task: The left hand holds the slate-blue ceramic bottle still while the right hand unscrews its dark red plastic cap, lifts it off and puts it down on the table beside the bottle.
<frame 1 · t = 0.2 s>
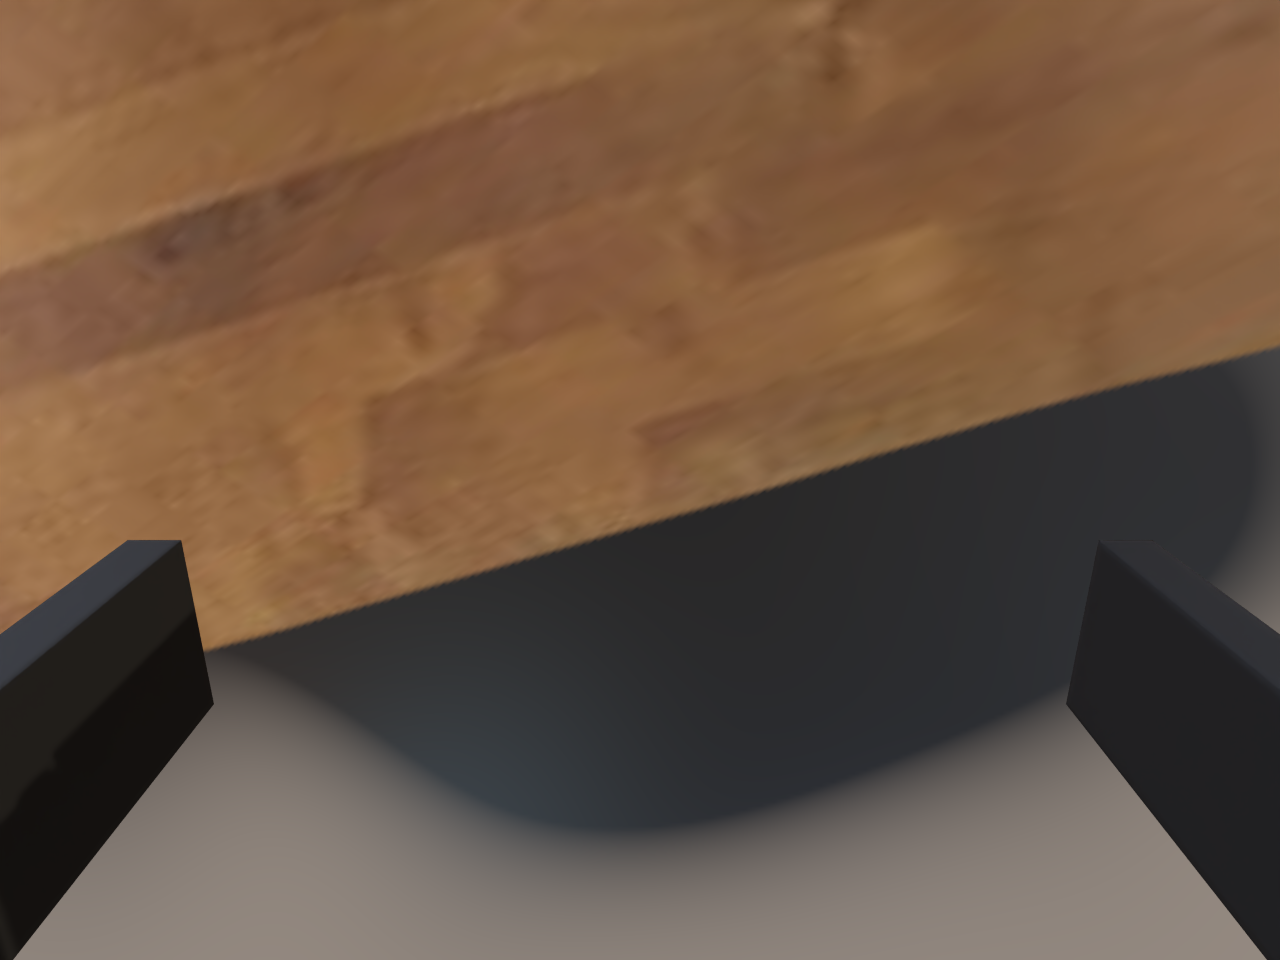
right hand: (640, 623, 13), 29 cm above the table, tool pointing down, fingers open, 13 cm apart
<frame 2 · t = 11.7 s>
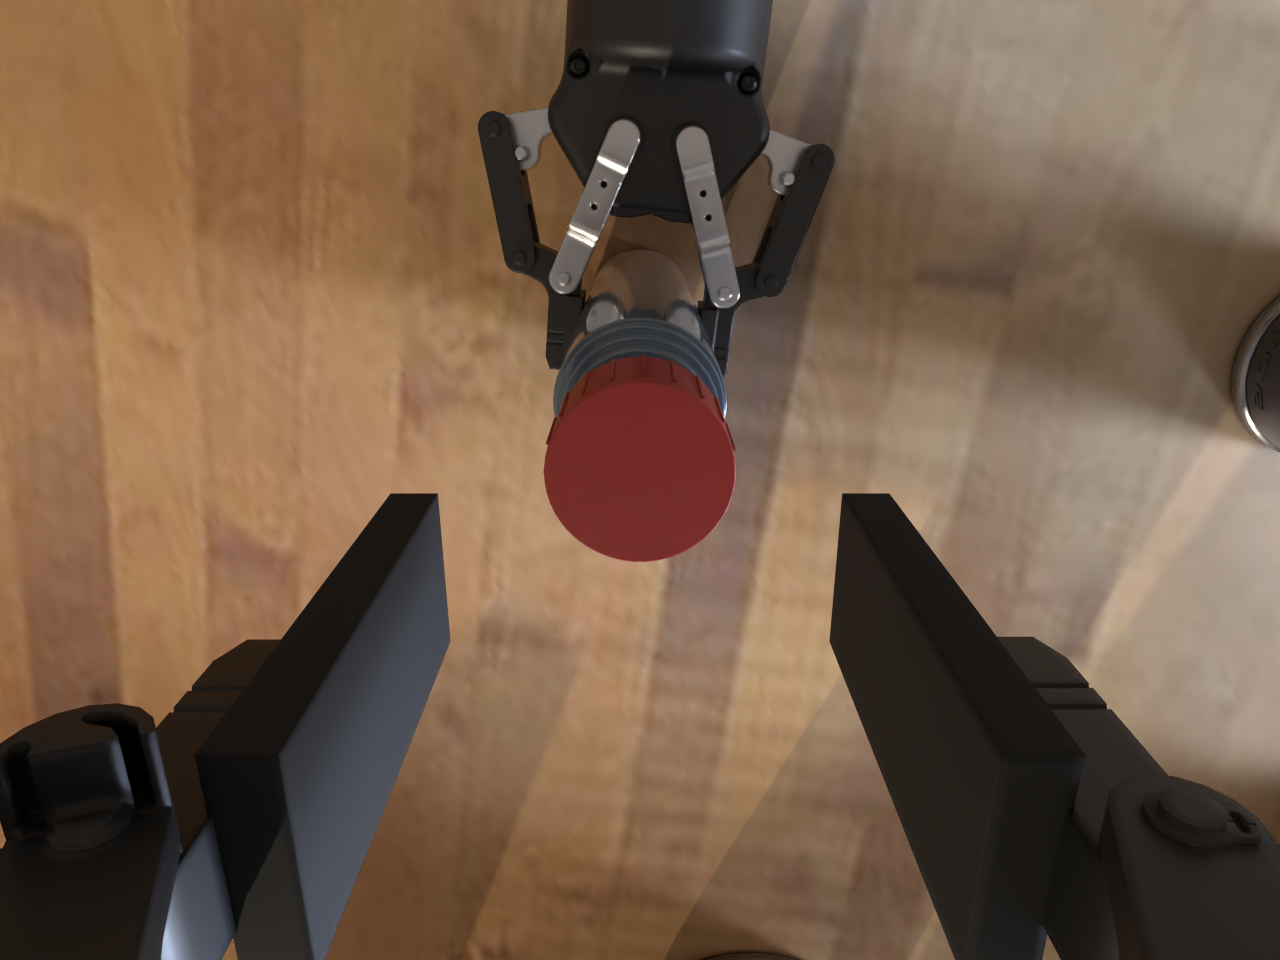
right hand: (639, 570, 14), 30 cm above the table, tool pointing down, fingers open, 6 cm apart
left hand: (635, 384, 37), fingers closed on bottle, 5 cm apart
cap: (640, 470, 19), point 25 cm above the table, screwed on, not yet turned
bottle: (640, 299, 42), on the table, touching left hand
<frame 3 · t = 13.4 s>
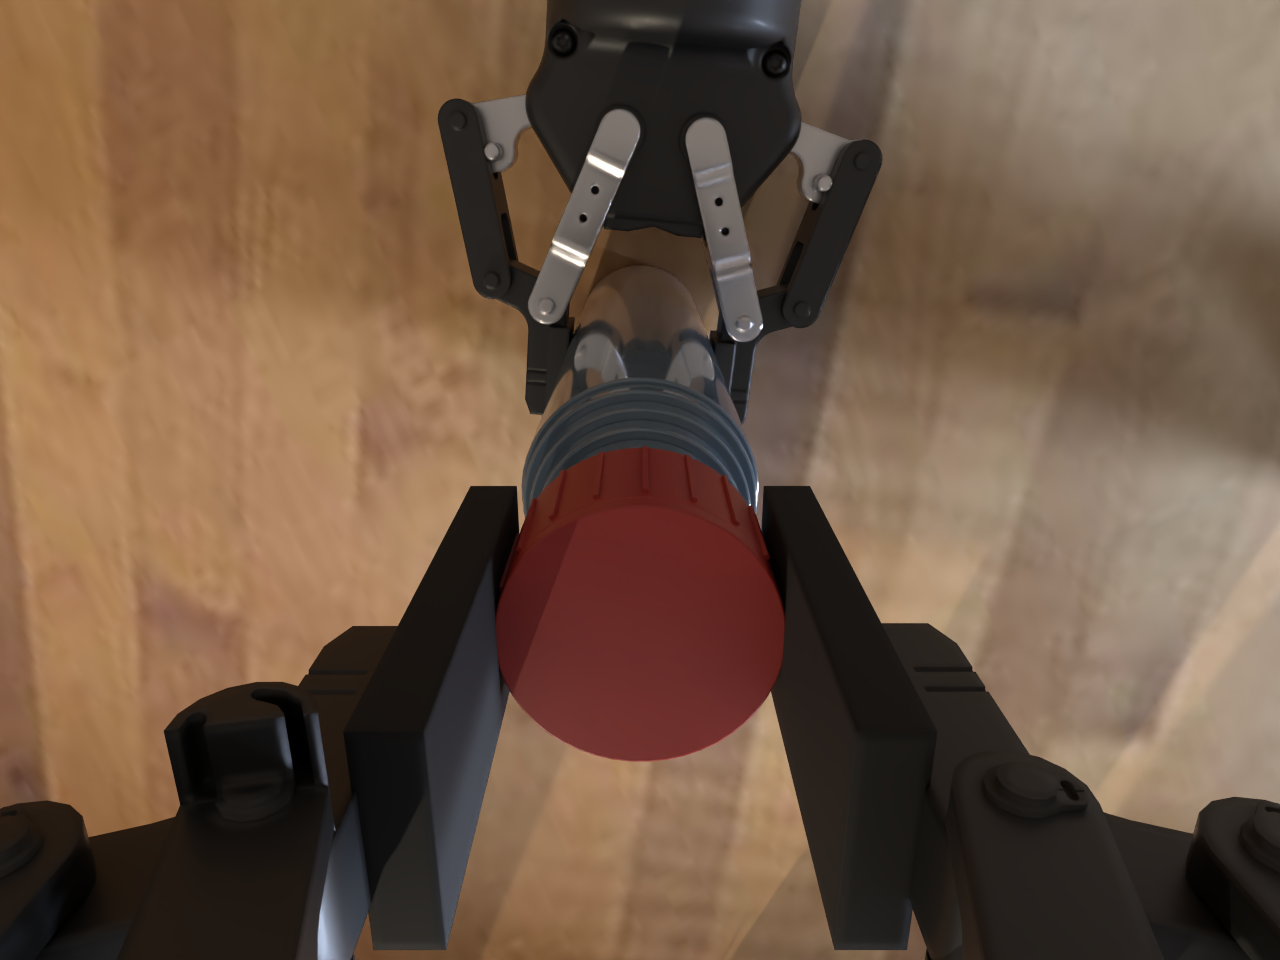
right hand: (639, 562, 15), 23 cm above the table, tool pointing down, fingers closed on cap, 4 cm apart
cap: (640, 630, 12), point 25 cm above the table, screwed on, not yet turned, touching right hand
bottle: (640, 324, 36), on the table, touching left hand
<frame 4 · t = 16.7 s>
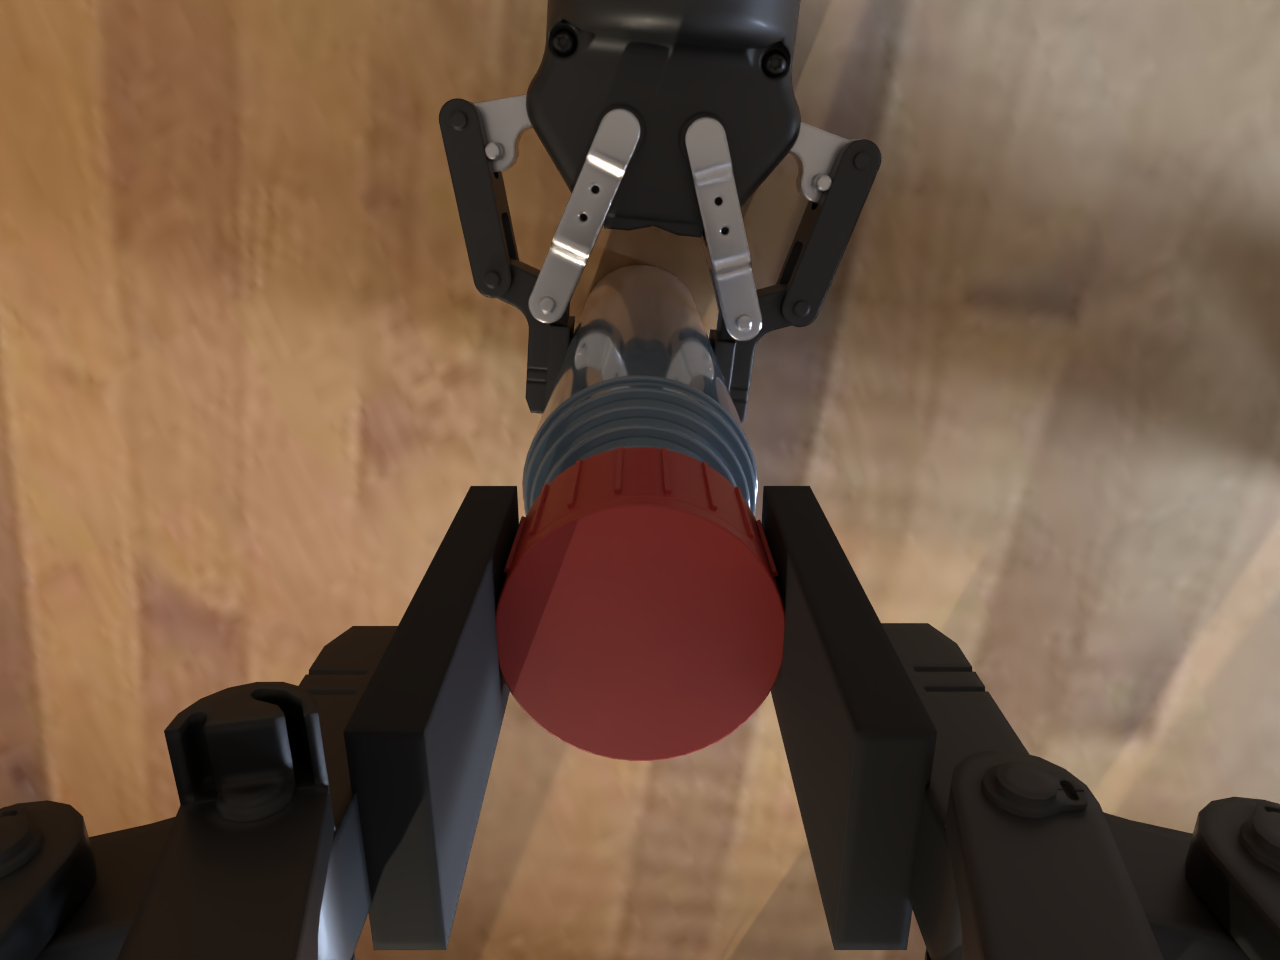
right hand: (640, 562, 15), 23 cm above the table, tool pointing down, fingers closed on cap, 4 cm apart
cap: (640, 629, 12), point 25 cm above the table, turned 105° so far, risen 0.1 cm, still on its thread, touching right hand
bottle: (640, 324, 36), on the table, touching left hand
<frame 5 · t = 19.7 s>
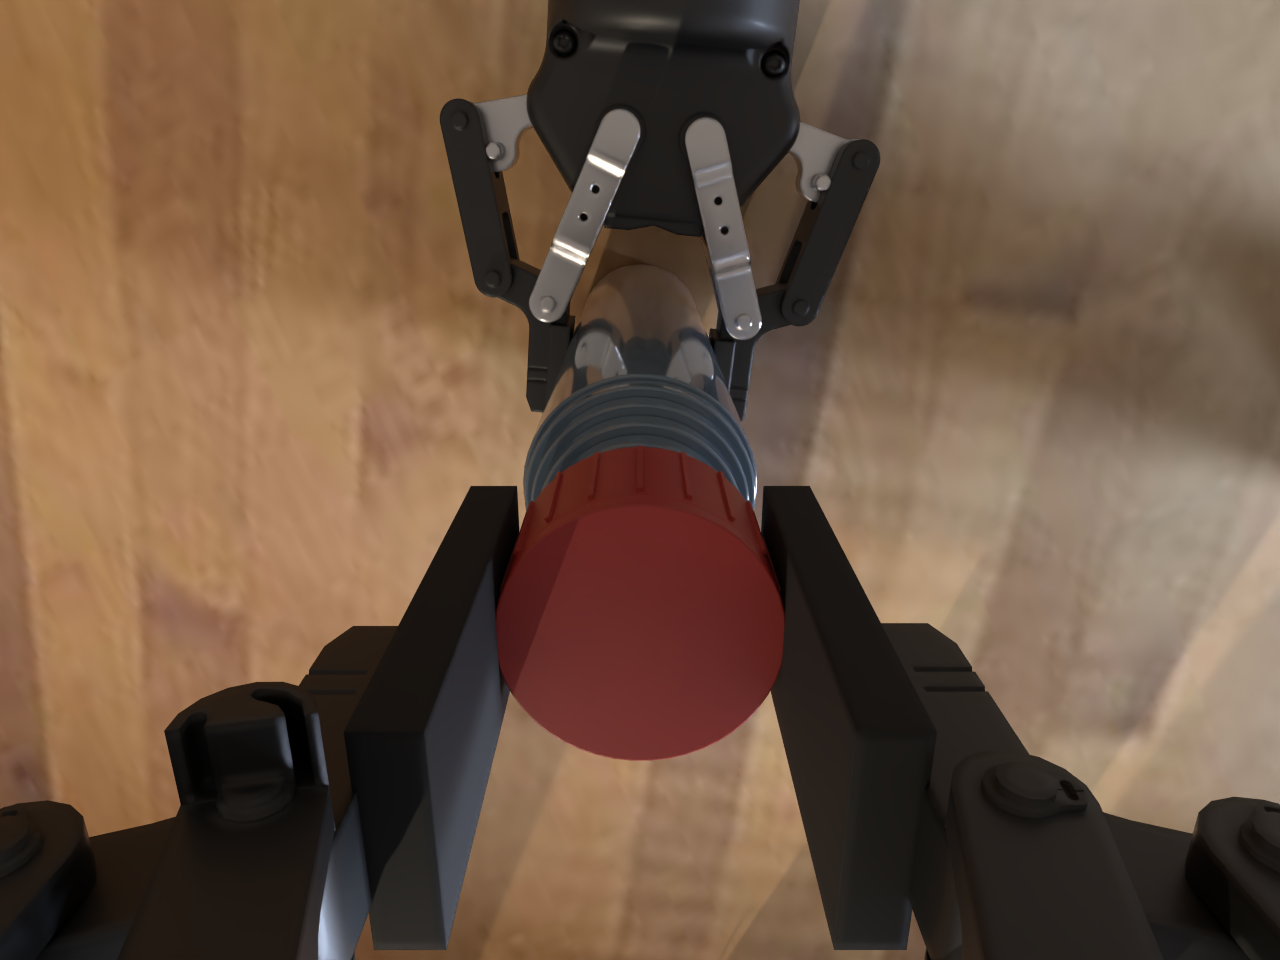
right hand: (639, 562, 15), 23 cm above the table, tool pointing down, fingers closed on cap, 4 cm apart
cap: (640, 629, 12), point 25 cm above the table, turned 211° so far, risen 0.3 cm, still on its thread, touching right hand
bottle: (640, 323, 36), on the table, touching left hand
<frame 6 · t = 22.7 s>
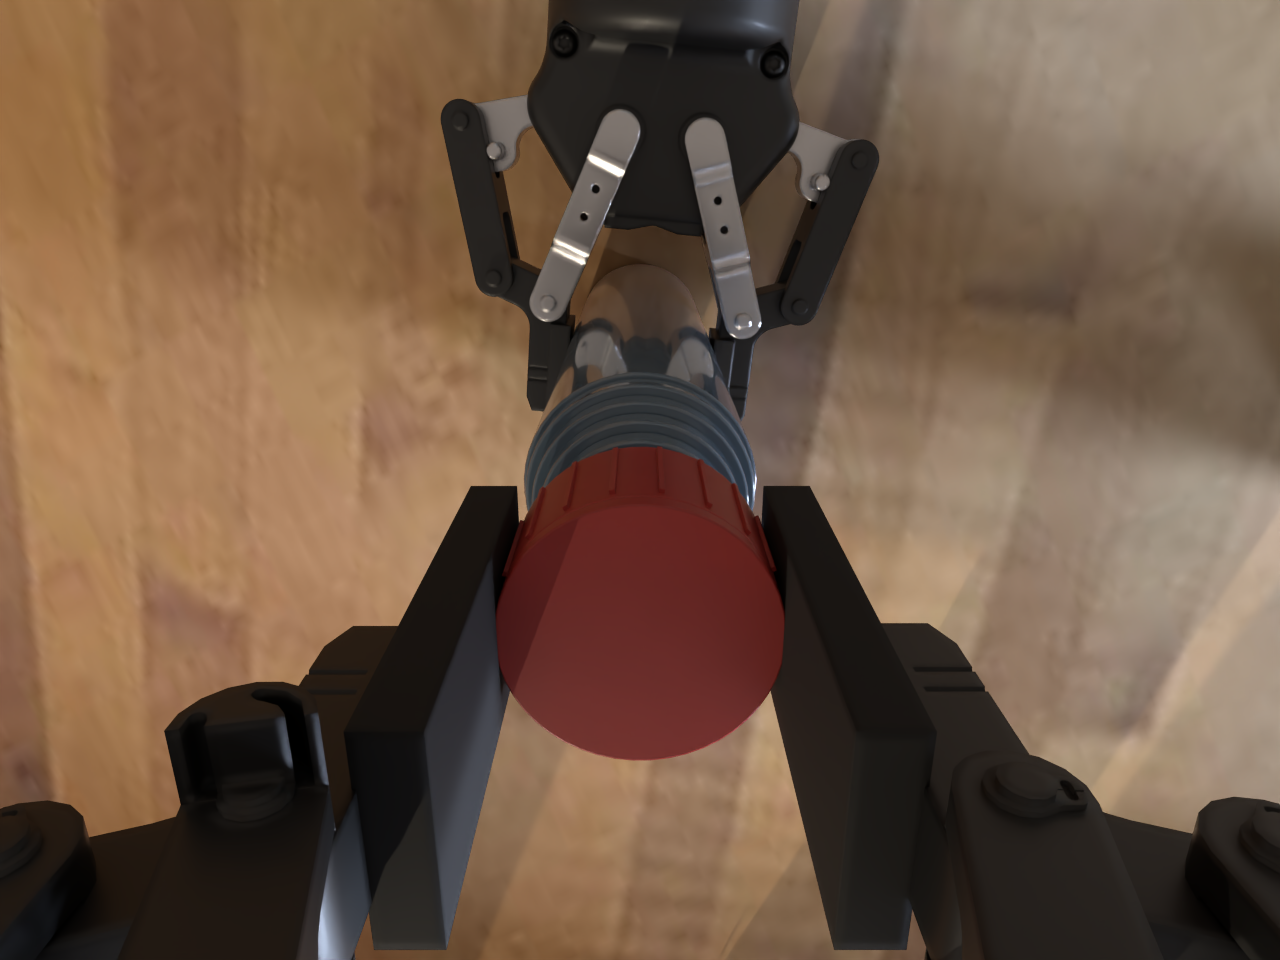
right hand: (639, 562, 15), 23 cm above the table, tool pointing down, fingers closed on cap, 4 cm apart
cap: (640, 629, 12), point 25 cm above the table, turned 316° so far, risen 0.4 cm, still on its thread, touching right hand
bottle: (640, 322, 36), on the table, touching left hand
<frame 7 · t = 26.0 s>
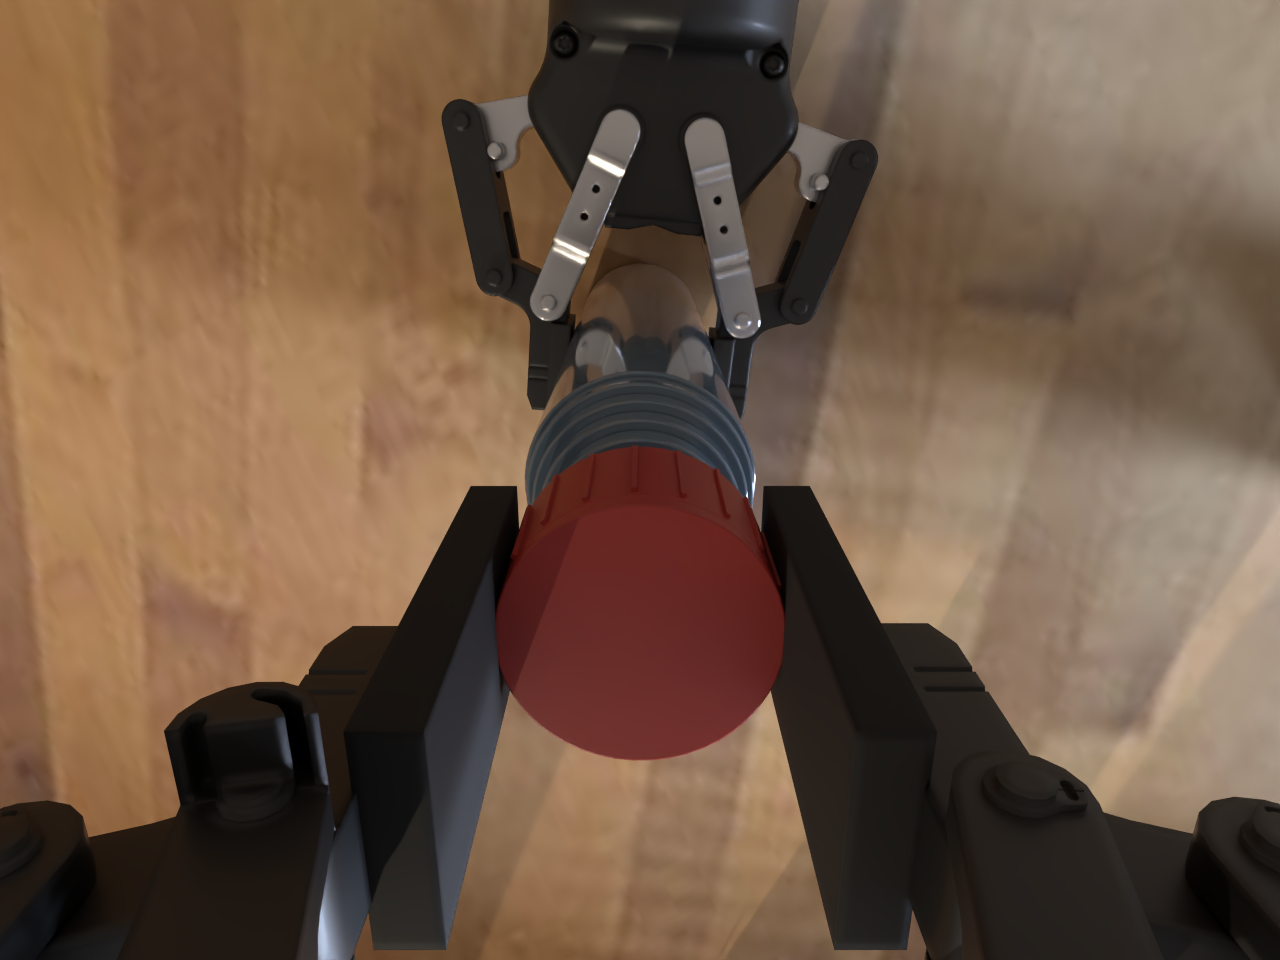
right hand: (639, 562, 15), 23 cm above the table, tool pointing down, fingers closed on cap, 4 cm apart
cap: (640, 629, 12), point 25 cm above the table, turned 421° so far, risen 0.5 cm, still on its thread, touching right hand
bottle: (640, 322, 36), on the table, touching left hand
when the right hand's fingers open (1 cm above the table, at t = 32.5 s): cap drops 1 cm, point 2 cm above the table.
when the left hand's fingers open (7 cm above the table, at t = 33.8 s): bottle stays where it is, on the table.
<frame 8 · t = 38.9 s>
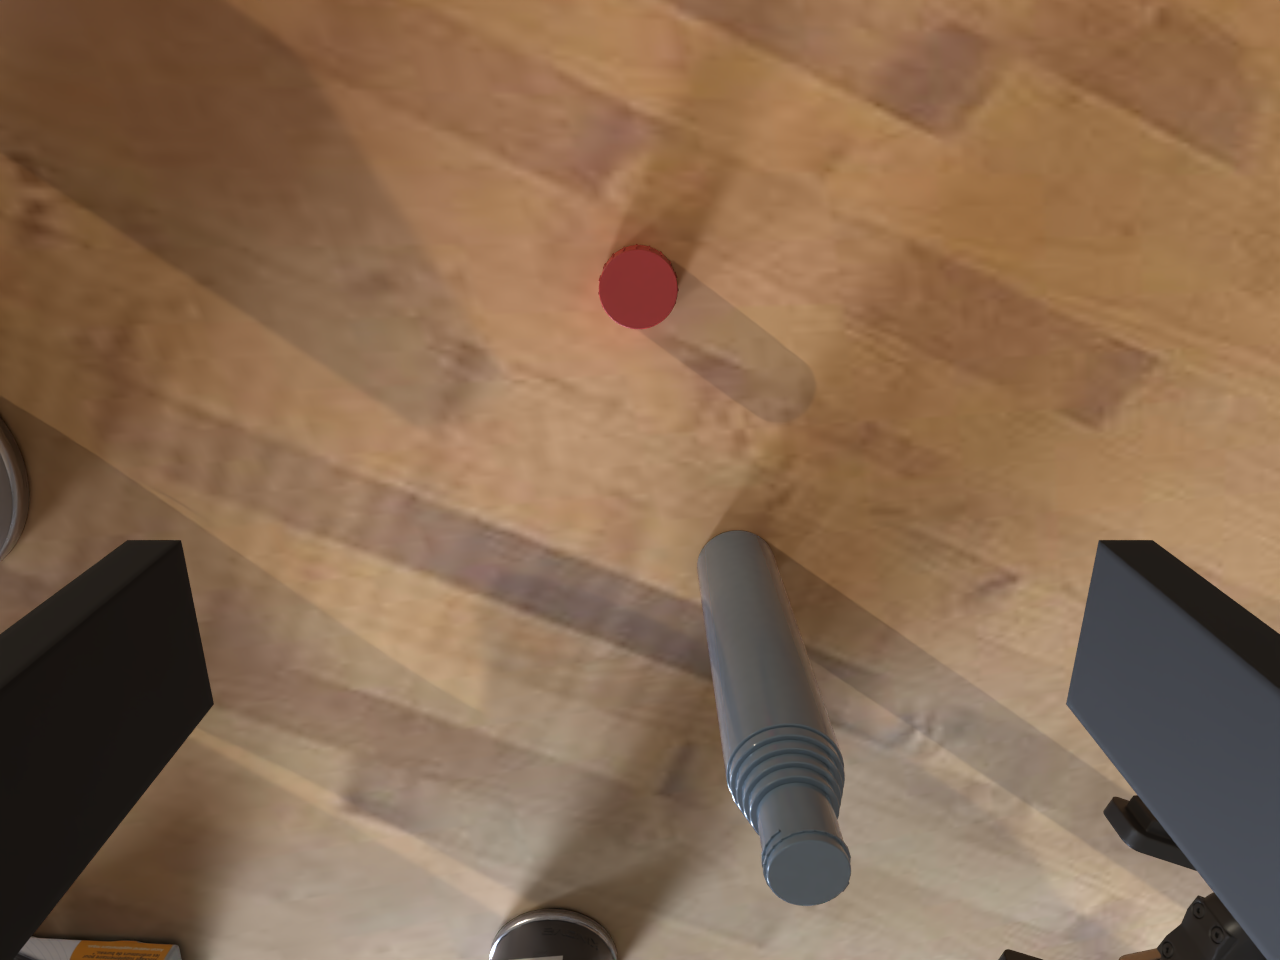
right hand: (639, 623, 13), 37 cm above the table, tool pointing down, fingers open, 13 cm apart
cap: (638, 289, 46), point 2 cm above the table, off its thread
bottle: (735, 565, 54), on the table
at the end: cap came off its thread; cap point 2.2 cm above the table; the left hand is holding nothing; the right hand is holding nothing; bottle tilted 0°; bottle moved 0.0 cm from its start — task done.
